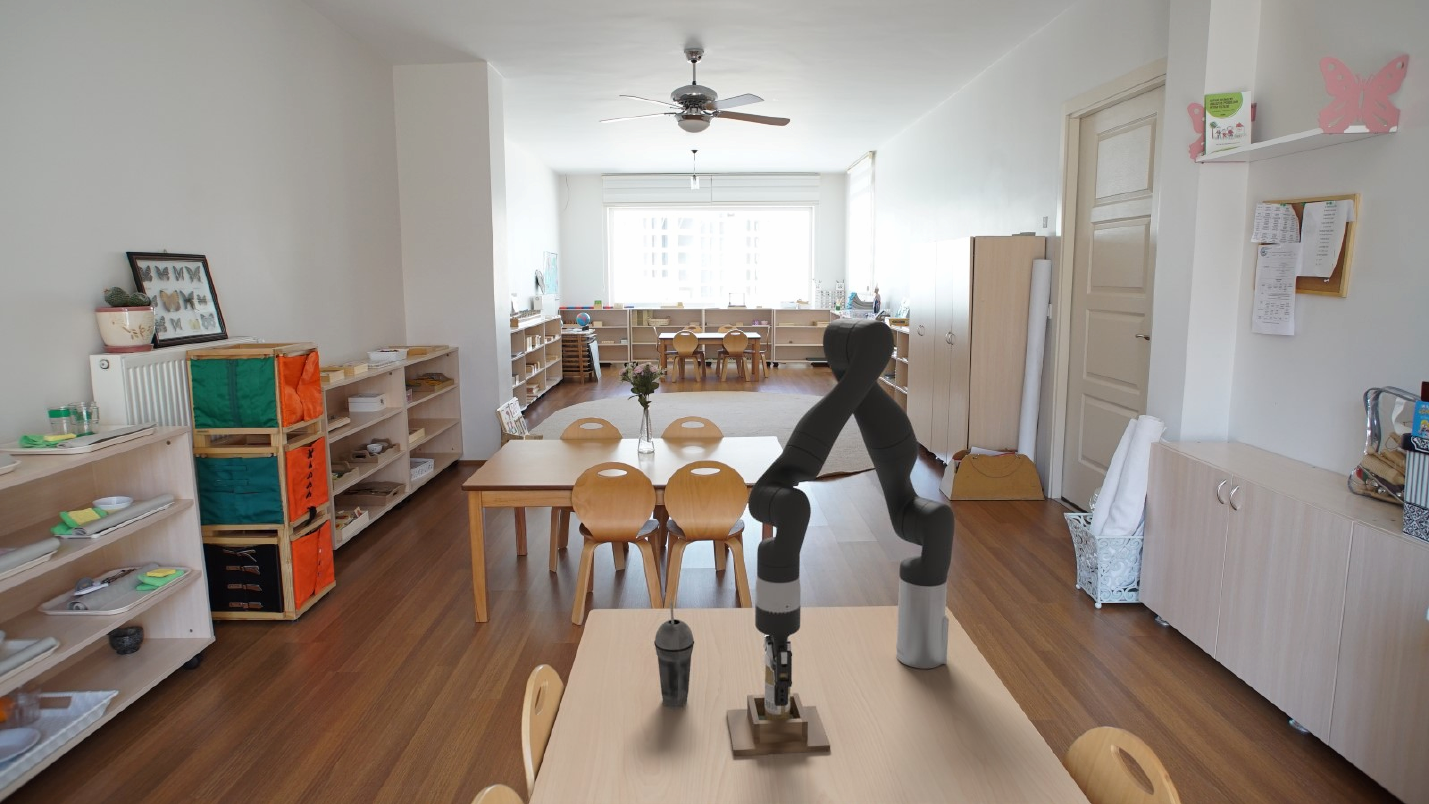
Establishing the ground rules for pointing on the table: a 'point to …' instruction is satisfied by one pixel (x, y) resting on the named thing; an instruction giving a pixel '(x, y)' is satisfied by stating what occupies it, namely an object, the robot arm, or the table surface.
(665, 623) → the beverage cup
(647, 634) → the table surface
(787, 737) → the wooden square holder
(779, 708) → the sprinkles bottle
